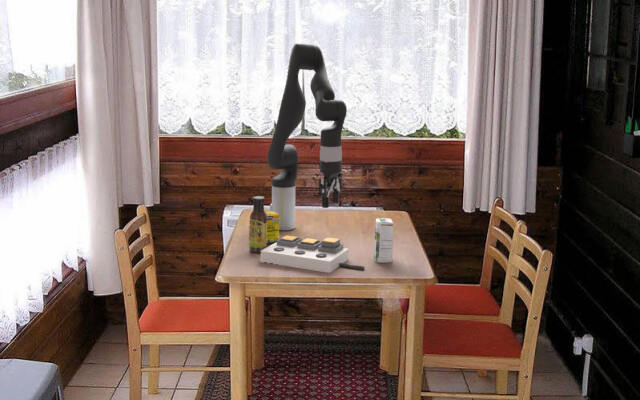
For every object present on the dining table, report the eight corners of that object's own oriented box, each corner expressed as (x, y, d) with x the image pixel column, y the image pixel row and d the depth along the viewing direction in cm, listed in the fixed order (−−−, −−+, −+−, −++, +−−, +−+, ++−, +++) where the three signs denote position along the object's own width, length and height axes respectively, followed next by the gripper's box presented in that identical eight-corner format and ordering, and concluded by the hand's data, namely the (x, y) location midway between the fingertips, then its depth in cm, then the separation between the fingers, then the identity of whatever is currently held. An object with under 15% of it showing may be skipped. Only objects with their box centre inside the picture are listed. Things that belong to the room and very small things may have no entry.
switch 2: (300, 246, 277) (300, 241, 276) (306, 243, 281) (306, 237, 281) (313, 248, 275) (313, 243, 274) (318, 245, 279) (318, 239, 279)
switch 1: (280, 244, 280) (280, 238, 279) (286, 240, 284) (286, 235, 284) (292, 245, 278) (292, 240, 278) (298, 242, 282) (298, 236, 282)
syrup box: (373, 257, 280) (374, 218, 277) (389, 257, 280) (391, 217, 277) (375, 262, 274) (377, 222, 271) (392, 262, 275) (394, 222, 272)
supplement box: (264, 244, 294) (264, 216, 291) (258, 240, 299) (258, 212, 296) (279, 242, 296) (279, 214, 294) (272, 238, 301) (272, 210, 299)
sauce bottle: (245, 251, 285) (245, 197, 280) (255, 247, 290) (255, 194, 286) (260, 254, 282) (260, 199, 277) (270, 250, 287) (270, 196, 282)
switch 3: (321, 246, 273) (321, 240, 273) (327, 242, 278) (327, 237, 277) (334, 248, 271) (334, 242, 271) (339, 244, 276) (340, 239, 275)
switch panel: (260, 262, 273) (260, 246, 272) (281, 249, 288) (281, 234, 286) (355, 277, 259) (356, 260, 258) (373, 263, 274) (373, 247, 272)
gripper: (329, 155, 279) (329, 200, 283) (311, 161, 267) (311, 208, 270) (349, 156, 276) (348, 202, 280) (332, 162, 264) (332, 210, 267)
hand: (330, 205), depth 275 cm, fingers open, 8 cm apart
